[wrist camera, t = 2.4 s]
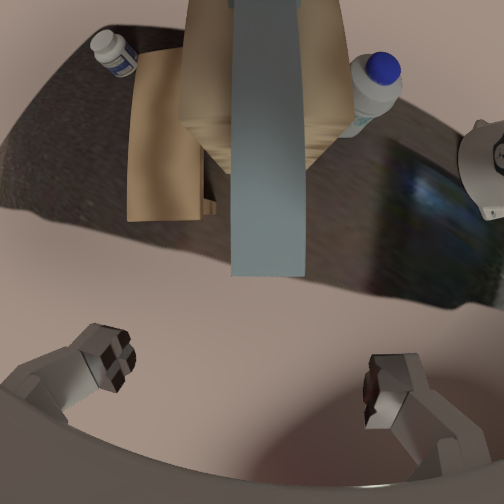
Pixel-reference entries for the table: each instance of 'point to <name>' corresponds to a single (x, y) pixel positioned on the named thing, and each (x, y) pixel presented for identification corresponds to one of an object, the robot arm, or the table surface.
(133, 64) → the pill bottle
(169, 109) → the bench
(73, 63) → the table surface
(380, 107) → the bottle
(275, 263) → the rail
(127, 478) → the robot arm
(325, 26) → the tall stand
